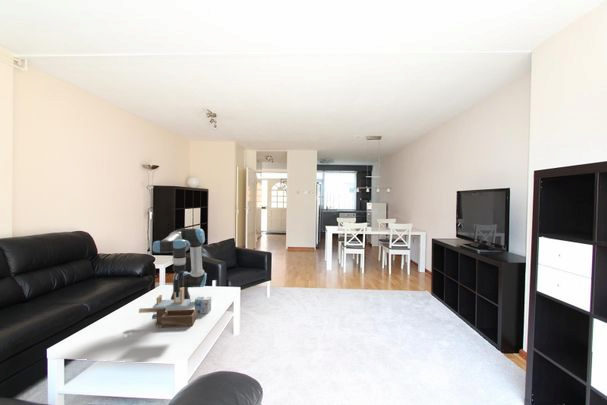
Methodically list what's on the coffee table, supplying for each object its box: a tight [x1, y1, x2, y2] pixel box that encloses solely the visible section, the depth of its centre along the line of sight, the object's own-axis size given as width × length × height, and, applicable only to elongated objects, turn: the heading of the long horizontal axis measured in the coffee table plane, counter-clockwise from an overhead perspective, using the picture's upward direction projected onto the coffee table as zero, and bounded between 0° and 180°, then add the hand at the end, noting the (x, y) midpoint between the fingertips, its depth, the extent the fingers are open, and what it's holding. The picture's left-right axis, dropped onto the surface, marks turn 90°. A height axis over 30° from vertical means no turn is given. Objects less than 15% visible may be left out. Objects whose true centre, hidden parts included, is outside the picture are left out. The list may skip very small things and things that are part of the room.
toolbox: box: [156, 308, 197, 328], centre depth 200 cm, size 12×24×12 cm, turn 98°
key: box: [138, 307, 157, 314], centre depth 198 cm, size 2×14×2 cm, turn 98°
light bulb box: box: [194, 295, 212, 315], centre depth 221 cm, size 11×7×11 cm, turn 88°
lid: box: [152, 287, 191, 309], centre depth 185 cm, size 12×19×10 cm, turn 98°
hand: (179, 300), depth 185 cm, fingers closed on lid, 5 cm apart
